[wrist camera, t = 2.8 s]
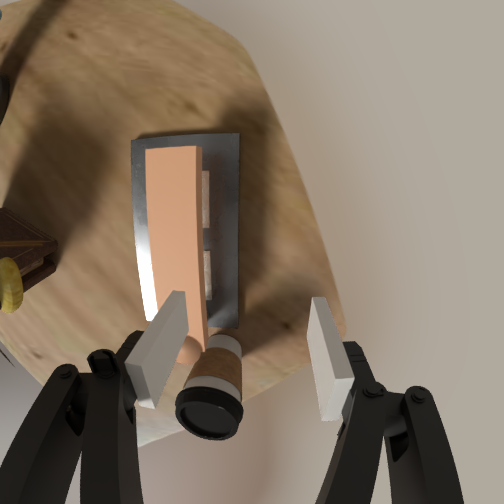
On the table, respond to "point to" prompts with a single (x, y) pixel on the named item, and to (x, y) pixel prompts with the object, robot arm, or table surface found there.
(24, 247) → the book
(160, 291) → the cable arm
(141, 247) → the plate
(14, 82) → the table surface
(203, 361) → the coffee cup
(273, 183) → the table surface
